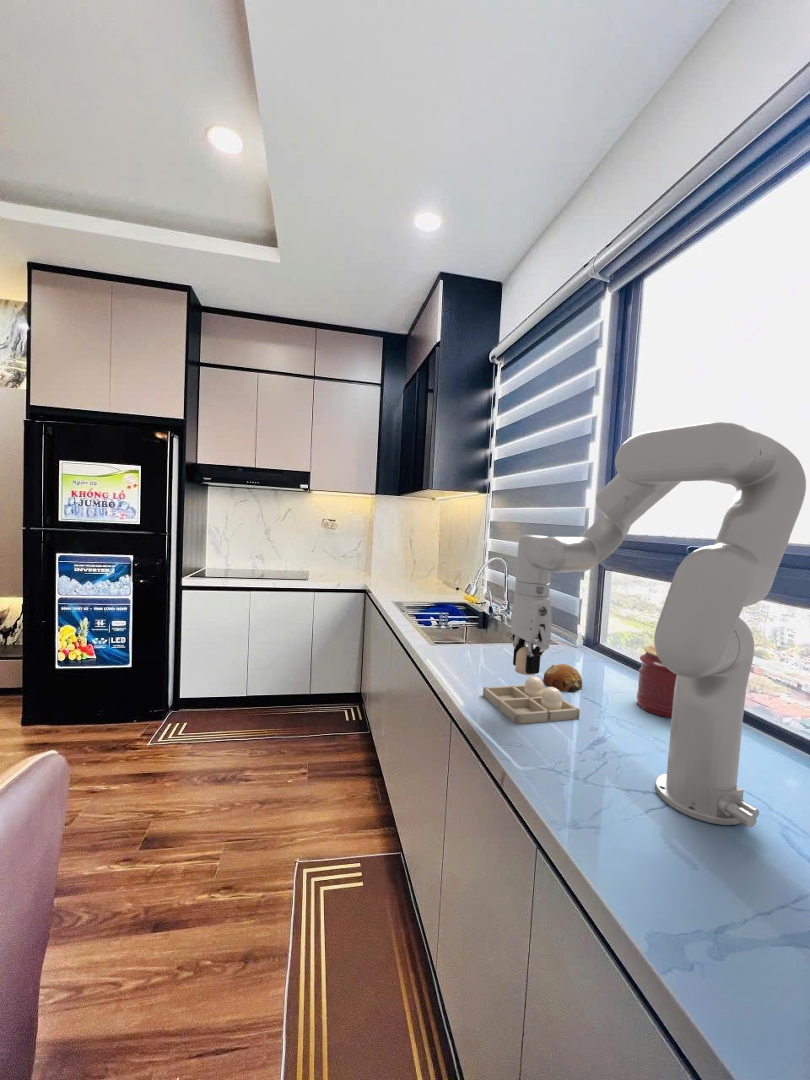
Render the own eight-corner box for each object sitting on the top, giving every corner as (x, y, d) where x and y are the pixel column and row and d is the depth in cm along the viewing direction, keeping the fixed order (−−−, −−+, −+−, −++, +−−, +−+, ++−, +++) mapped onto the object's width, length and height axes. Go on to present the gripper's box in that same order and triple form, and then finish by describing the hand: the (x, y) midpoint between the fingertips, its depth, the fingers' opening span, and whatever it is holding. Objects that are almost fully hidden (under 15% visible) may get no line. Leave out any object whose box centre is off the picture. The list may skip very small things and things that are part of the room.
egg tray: (578, 720, 104) (579, 709, 104) (516, 726, 99) (517, 714, 99) (538, 693, 119) (539, 684, 119) (482, 697, 114) (483, 687, 114)
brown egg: (540, 674, 103) (542, 649, 103) (522, 675, 102) (524, 650, 101) (528, 667, 107) (530, 643, 107) (511, 668, 106) (513, 644, 106)
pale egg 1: (546, 702, 112) (548, 679, 112) (530, 703, 111) (532, 680, 110) (536, 695, 116) (537, 673, 116) (520, 696, 115) (521, 674, 115)
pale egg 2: (565, 715, 105) (567, 690, 105) (548, 716, 104) (549, 691, 104) (553, 706, 110) (555, 683, 109) (536, 708, 108) (538, 684, 108)
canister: (643, 715, 109) (649, 642, 108) (630, 695, 122) (635, 630, 121) (705, 724, 106) (711, 649, 105) (685, 703, 119) (690, 635, 118)
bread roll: (577, 697, 128) (575, 667, 131) (588, 694, 119) (586, 662, 122) (541, 694, 129) (540, 665, 132) (549, 691, 120) (548, 659, 123)
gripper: (569, 597, 96) (562, 682, 97) (526, 583, 112) (520, 656, 114) (538, 596, 94) (531, 683, 95) (498, 583, 110) (493, 657, 111)
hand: (525, 668), depth 104 cm, fingers closed on brown egg, 4 cm apart
